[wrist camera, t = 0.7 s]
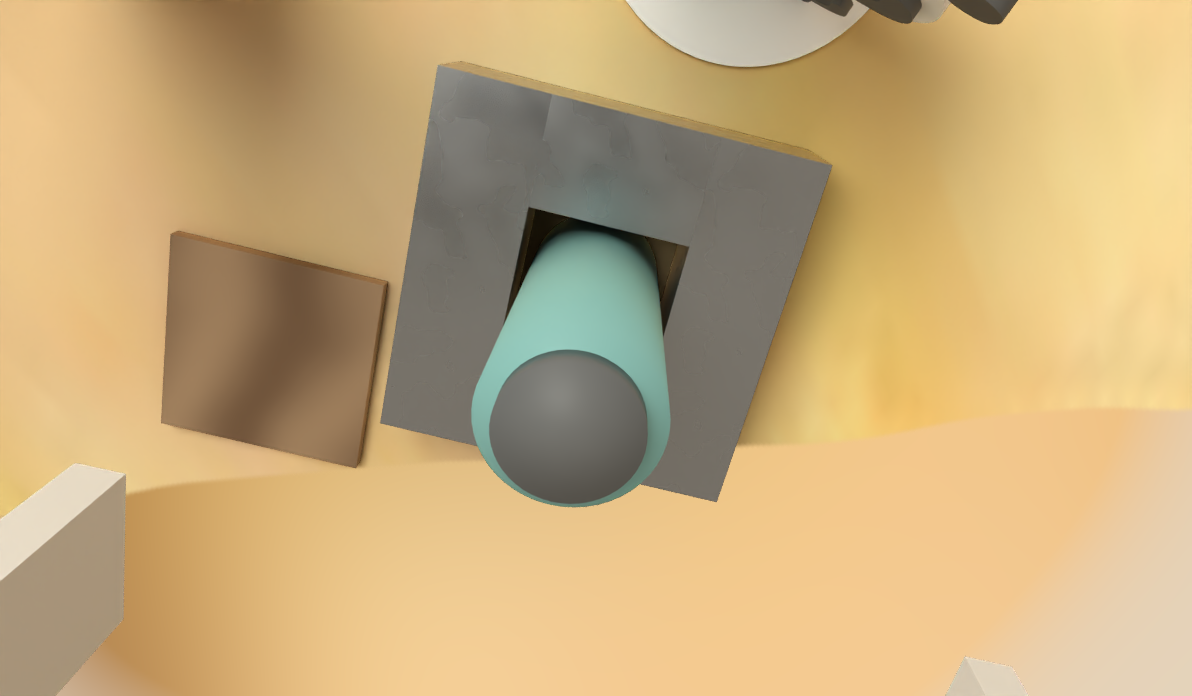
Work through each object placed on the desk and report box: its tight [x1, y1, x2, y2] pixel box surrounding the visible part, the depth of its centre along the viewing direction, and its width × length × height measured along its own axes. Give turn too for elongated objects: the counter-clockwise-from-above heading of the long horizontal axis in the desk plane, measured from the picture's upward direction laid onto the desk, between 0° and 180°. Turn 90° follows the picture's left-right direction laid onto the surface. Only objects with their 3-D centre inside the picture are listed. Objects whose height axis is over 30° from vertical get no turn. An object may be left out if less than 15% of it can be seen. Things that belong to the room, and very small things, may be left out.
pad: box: [161, 231, 388, 468], centre depth 36 cm, size 9×9×1 cm
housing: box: [380, 61, 832, 502], centre depth 32 cm, size 14×14×4 cm
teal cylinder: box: [471, 218, 671, 507], centre depth 27 cm, size 5×5×15 cm
